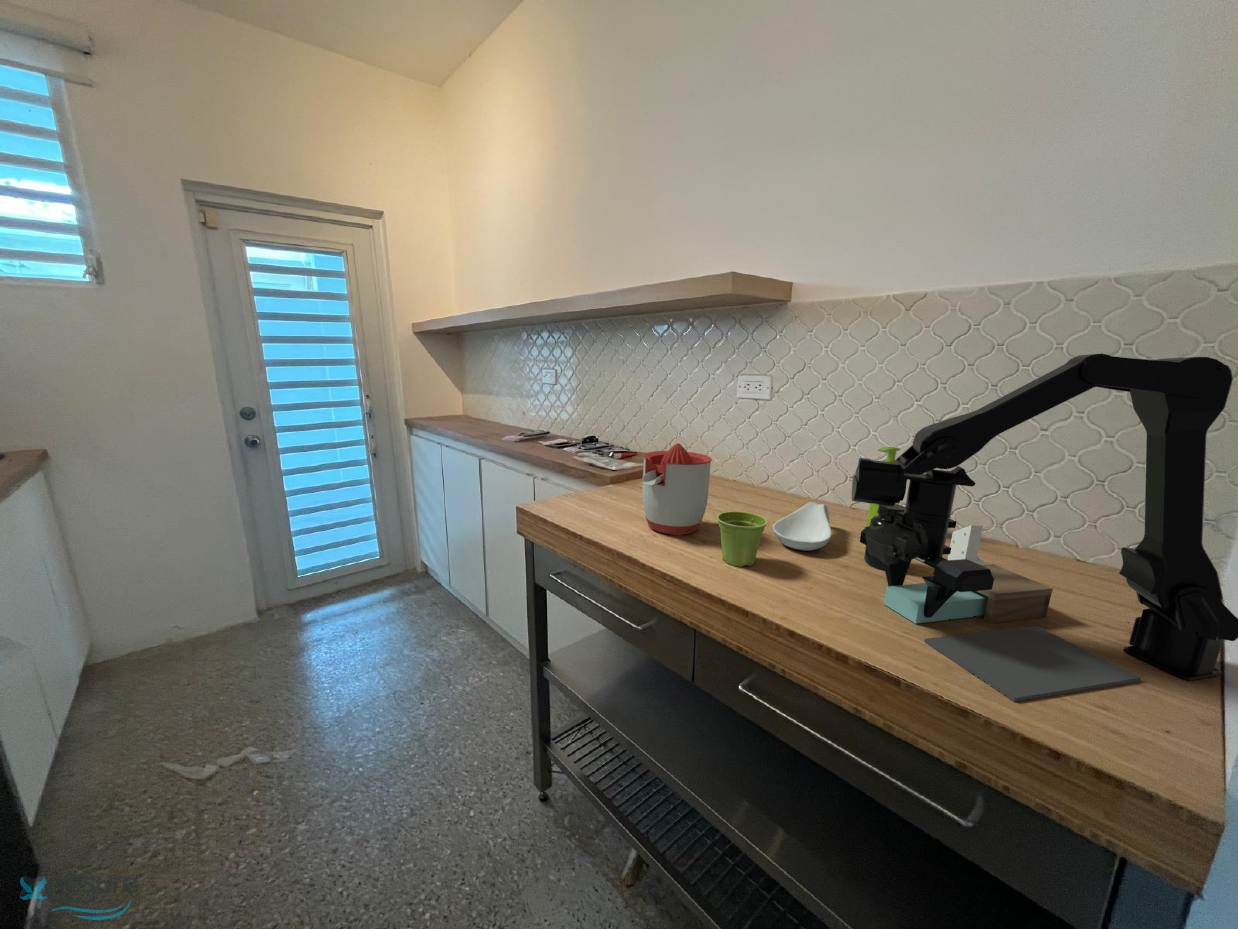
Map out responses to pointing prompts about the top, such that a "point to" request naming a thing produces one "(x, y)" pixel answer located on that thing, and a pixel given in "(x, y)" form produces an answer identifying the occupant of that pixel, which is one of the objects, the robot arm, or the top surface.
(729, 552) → the plant pot
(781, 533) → the spoon rest
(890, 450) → the soap dispenser
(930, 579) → the robot arm
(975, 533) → the white wedge bracket
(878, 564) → the supplement bottle
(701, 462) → the citrus juicer
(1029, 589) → the sleeve box
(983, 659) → the rubber mat
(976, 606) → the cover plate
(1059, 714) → the top surface
